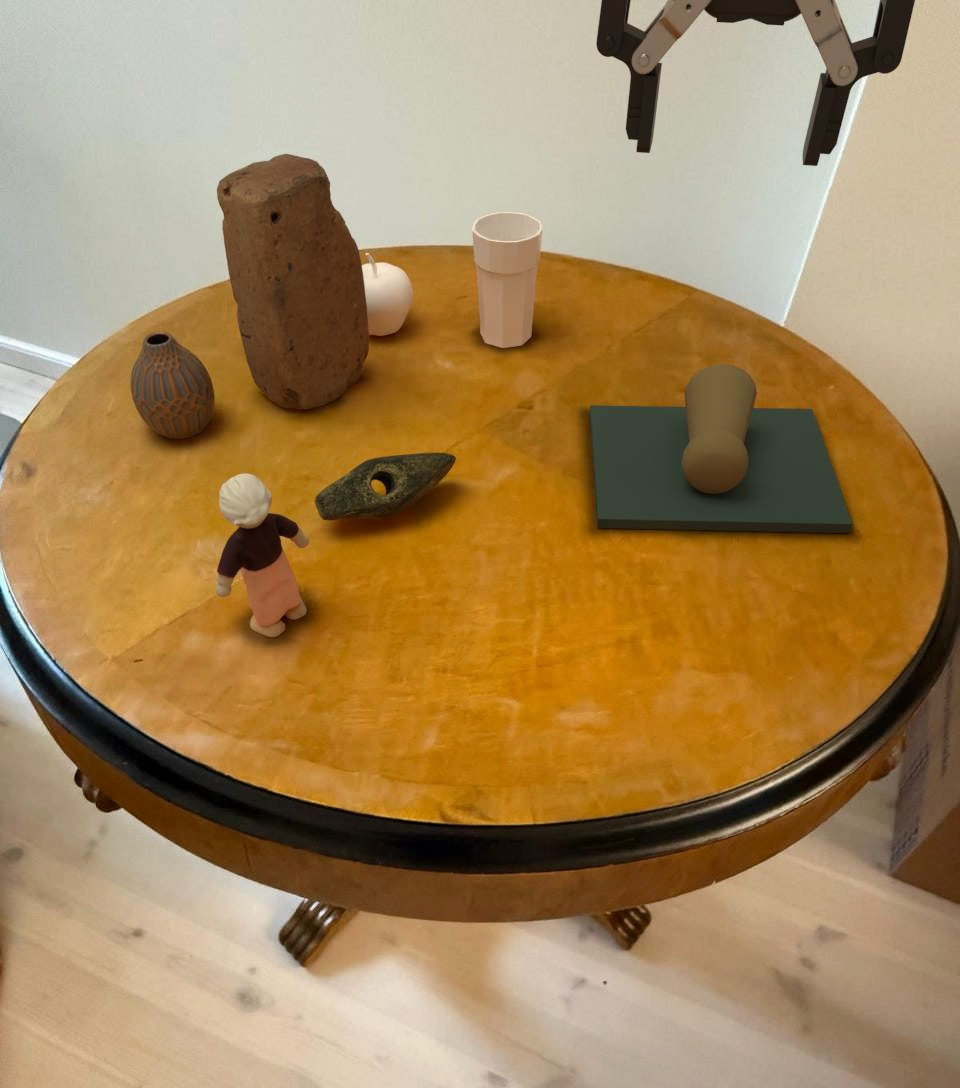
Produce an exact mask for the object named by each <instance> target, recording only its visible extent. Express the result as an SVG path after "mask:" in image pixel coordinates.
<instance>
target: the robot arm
mask: <svg viewBox="0 0 960 1088" xmlns="http://www.w3.org/2000/svg"><path fill="white" fill-rule="evenodd" d="M631 2H632V0H601V3H600V11H599V20H598V26H597V34H596V42H595V43H596V49H597V51H598V53H599V54H600V55H601V56H603V57H606V58H611V57H612V58H614V59H616V60H618V61H621V62H622V63H624V64H625V65H626V67H627V68H628V70H629V72H630V82H629V90H628V101H627V109H626V121H625V132H626V136H627V139H628V140H631V141H636V153H640V154H641V153H643V154H650V153H651V149H652V145H653V140H654V134H655V133H654V132H655V124H656V118H657V108H658V100H659V91H660V84H661V83H660V82H661V76H662V66H663V62H660V61H662V59H663V58H664V56H665V55H666V54H667V53H668V51H669V50H671V48H672V46H674V44H675V43H676V42H677V41H678V40H679V39H681V37H683V35H684V34H686V32H687V31H688V29H690V27H691V26H692V25H693V23H694V22H695V21H696V20H697V19H698V17H700V15H701V14H702V12H703V11H705V12H706V14H707V15H709V16H710V17H712V18H714V19H716V23H725V24H734V23H739V22H742V21H748V20H753V21H756V22H758V23H762V24H764V25H766V26H783V27H784V26H785V23H786V22H789V21H792V20H793V19H796V18H797V17H798V16H800V15H801V16H802V18H803V21H804V23H805V25H806V27H807V29H808V32H809V34H810V36H811V39H812V41H813V43H814V45H815V46H816V47H817V50H818V53H819V55H820V57H821V59H822V61H823V63H824V66H825V68H826V69H825V72H820V75H819V78H818V82H817V87H816V92H815V96H814V100H813V104H812V109H811V113H810V118H809V122H808V127H807V131H806V135H805V139H804V143H803V148H802V155H801V156H802V166H809V167H810V166H811V167H817V166H818V165H819V161H820V157H821V155H831V153H832V152H833V150H834V149H835V147H836V146H837V144H838V140H839V136H840V132H841V128H842V125H843V120H844V116H845V113H846V109H847V105H848V102H849V97H850V93H851V90H852V88H853V86H854V85H855V84H856V83H857V82H858V81H859V80H861V79H862V78H865V77H867V76H871V75H874V74H878V73H879V74H884V75H885V74H890V73H892V72H893V71H895V70H896V69H898V67H899V65H900V64H901V62H902V58H903V55H904V51H905V46H906V42H907V37H908V33H909V28H910V24H911V19H912V16H913V10H914V6H915V2H916V0H879V4H878V7H877V8H878V9H877V12H876V17H875V22H874V28H873V33H872V36H870V37H867V38H866V37H865V38H863V39H860V40H858V41H857V40H856V41H854V42H852V40H851V37H850V35H849V32H848V29H847V27H846V25H845V23H844V21H843V19H842V15H841V13H840V10H839V7H838V5H837V2H836V0H667V1H666V2H665V4H664V5H663V7H662V8H661V9H660V11H659V12H658V13H657V14H656V16H655V17H654V19H653V20H652V21H651V22H650V23H649V25H648V26H647V27H646V28H645V30H642V29H640V28H638V27H636V26H634V25H633V24H631V23H629V15H630V9H631Z"/></svg>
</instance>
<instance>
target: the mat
mask: <svg viewBox="0 0 960 1088" xmlns="http://www.w3.org/2000/svg"><path fill="white" fill-rule="evenodd" d="M589 426H590V442H591V443H590V444H591V457H592V472H593V486H594V503H595V515H596V528H597V529H620V530H622V529H623V530H624V529H626V530H631V529H632V530H664V531H665V530H666V531H667V530H670V531H672V530H675V531H715V532H716V531H717V532H718V531H719V532H720V531H721V532H723V531H724V532H761V533H762V532H765V533H767V532H772V533H775V532H776V533H811V534H812V533H817V534H823V533H824V534H850V532H851V529H852V527H853V521H852V518H851V515H850V512H849V509H848V506H847V504H846V501H845V498H844V495H843V492H842V490H841V487H840V484H839V481H838V478H837V475H836V473H835V470H834V466H833V464H832V461H831V458H830V455H829V453H828V450H827V447H826V443H825V441H824V439H823V436H822V432H821V430H820V427H819V425H818V422H817V418H816V416H815V413H814V410H813V408H785V407H784V408H781V407H779V408H777V407H753V411H752V415H751V418H750V422H749V426H748V429H747V433H746V437H745V440H744V446H745V447H746V450H747V453H748V468H747V472H746V474H745V476H744V478H743V479H742V481H741V482H740V483H739V484H738V485H736V486H735V487H734V488H732V489H731V490H729V491H726V492H724V493H718V494H709V493H704V492H701V491H699V490H697V489H695V488H694V487H693V486H691V485H690V484H689V483H688V481H687V480H686V479H685V477H684V474H683V470H682V466H681V463H682V457H683V452H684V450H685V448H686V447H687V445H688V444H689V435H688V425H687V415H686V406H657V405H656V406H654V405H652V406H651V405H603V404H602V405H598V404H597V405H592V404H591V405H590V407H589Z"/></svg>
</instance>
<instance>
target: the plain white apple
mask: <svg viewBox="0 0 960 1088" xmlns="http://www.w3.org/2000/svg"><path fill="white" fill-rule="evenodd" d="M364 255H365V256H366V258H367V260H368V261H369V263H364V264H362V271H363V277H364V285H365V296H366V305H367V316H368V329H369V336H378V337H383V336H387V335H392V334H395V333H397V332H398V331H399V330H401V328H402V326H403V325H404V322H405V320H406V319H407V315H408V313H409V311H410V309H411V306H412V303H413V297H414V290H413V285H412V283H411V280H410V277H408V275H407V273H406V272H405V271H404V270H403V269H402V268H401V267H399V266H396V265H393V264H390V263H388V262H384V261H382V262H375V260H374V258H373V257H372V256H371V254H370V253H369V252H367V253H365V254H364Z"/></svg>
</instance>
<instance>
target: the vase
mask: <svg viewBox="0 0 960 1088" xmlns="http://www.w3.org/2000/svg"><path fill="white" fill-rule="evenodd" d="M211 378H212V377H211V376H210V373H209V372H208V370H207V368H206V366H205V365H204V363H203V362H202V361H201V359H200V358H199V357H198V356H197V355H196V354H194V353H193V352H192V351H190V350H189V349H187V347H185V346H184V345H182V344H181V343H179V342H178V341H177V339H175V338H174V336H173V334H171V333H169V332H167V331H155V332H151V333H148V334H147V335H146V336H145V337H143V340H142V347H141V350H140V352H139V354H138V356H137V357H136V360H135V362H134V364H133V366H132V369H131V374H130V392H131V397H132V401H133V404H134V407H135V410H136V412H137V413H138V415H139V417H140V418H141V419H142V421H143V422H144V423H145V425H146V426H148V428H150V429H151V430H153V431H154V432H155V431H156V432H155V433H156V434H158V435H161V436H163V437H166V438H169V439H173V440H180V439H187V438H191V437H195V436H196V435H198V434H199V433H201V432H202V431H204V429H205V428H206V427H207V425H208V424H209V423H210V421H211V419H212V418H213V415H214V411H215V403H216V398H215V396H216V395H215V389H214V384H213V382H212V379H211Z"/></svg>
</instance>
